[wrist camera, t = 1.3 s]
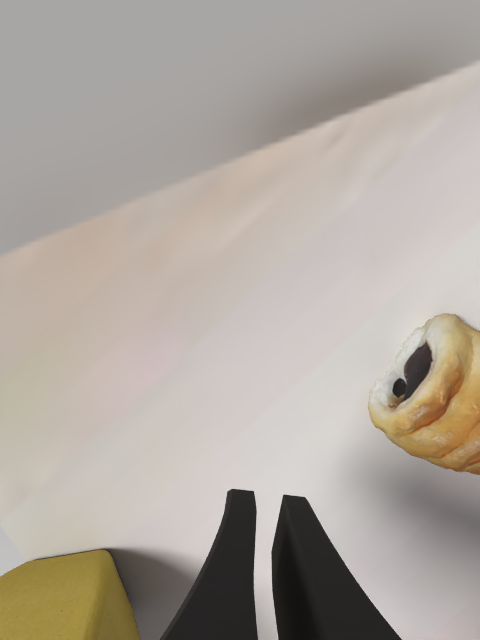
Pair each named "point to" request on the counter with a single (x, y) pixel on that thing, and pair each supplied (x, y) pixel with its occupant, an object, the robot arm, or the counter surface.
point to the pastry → (434, 395)
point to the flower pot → (66, 600)
